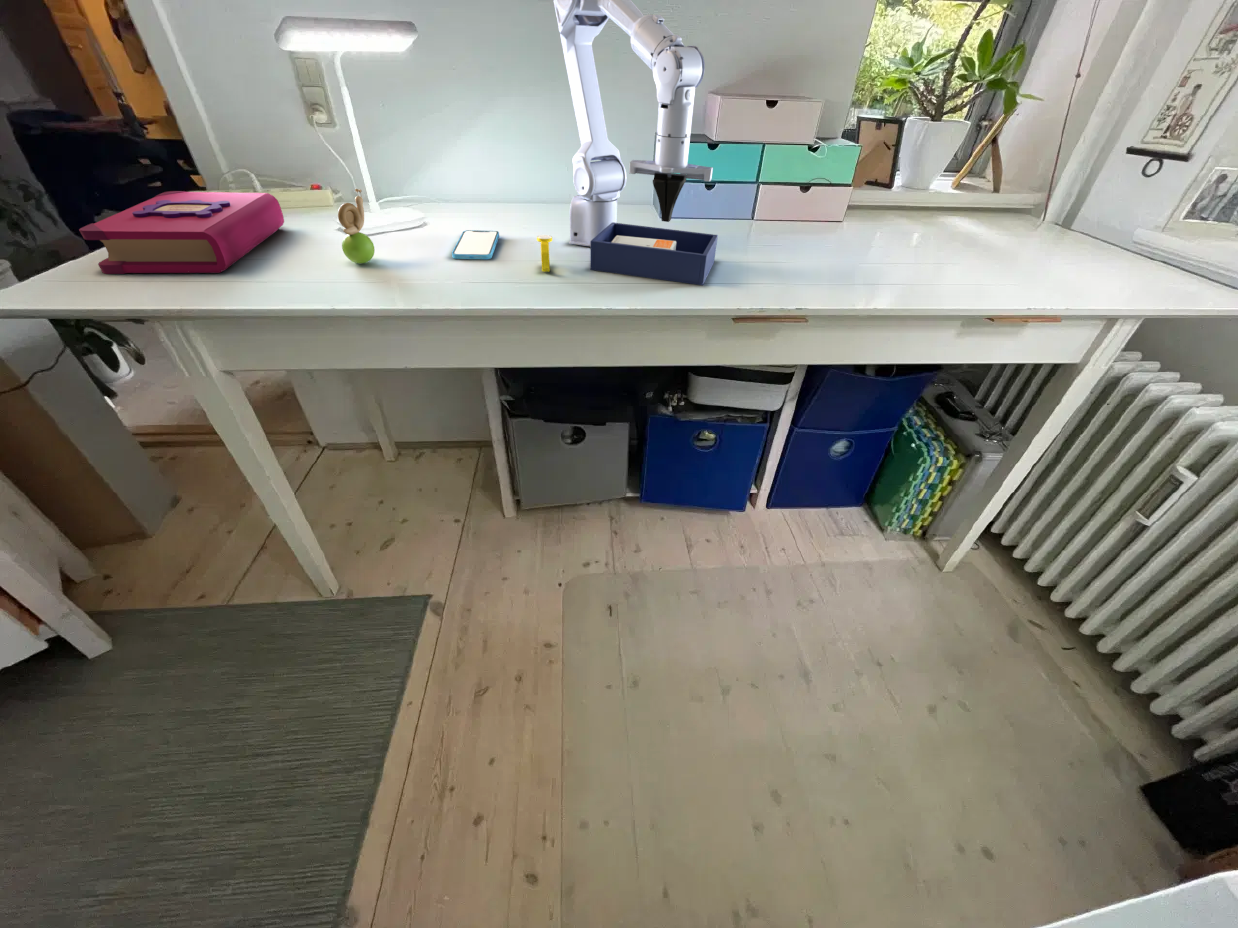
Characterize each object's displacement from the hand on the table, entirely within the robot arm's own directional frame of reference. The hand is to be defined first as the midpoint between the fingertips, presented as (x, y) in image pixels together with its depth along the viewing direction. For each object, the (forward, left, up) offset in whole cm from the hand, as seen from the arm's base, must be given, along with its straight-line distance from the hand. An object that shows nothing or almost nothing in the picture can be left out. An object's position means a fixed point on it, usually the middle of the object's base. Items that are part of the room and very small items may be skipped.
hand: (666, 220), depth 101 cm
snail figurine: (-53, -19, -9) cm, 57 cm away
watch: (-20, -10, -9) cm, 24 cm away
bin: (-2, 0, -9) cm, 9 cm away
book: (-85, -24, -9) cm, 89 cm away
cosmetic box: (+2, 0, -6) cm, 7 cm away
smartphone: (-38, -3, -9) cm, 39 cm away
